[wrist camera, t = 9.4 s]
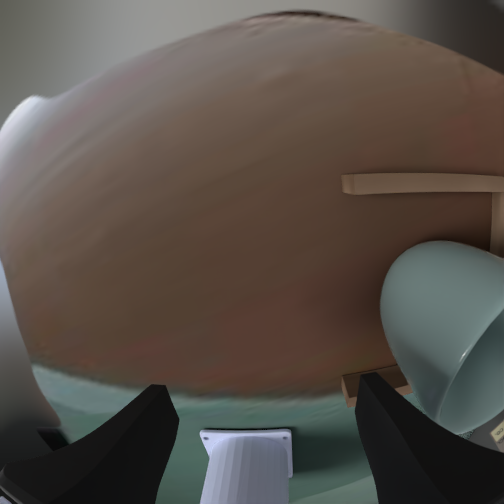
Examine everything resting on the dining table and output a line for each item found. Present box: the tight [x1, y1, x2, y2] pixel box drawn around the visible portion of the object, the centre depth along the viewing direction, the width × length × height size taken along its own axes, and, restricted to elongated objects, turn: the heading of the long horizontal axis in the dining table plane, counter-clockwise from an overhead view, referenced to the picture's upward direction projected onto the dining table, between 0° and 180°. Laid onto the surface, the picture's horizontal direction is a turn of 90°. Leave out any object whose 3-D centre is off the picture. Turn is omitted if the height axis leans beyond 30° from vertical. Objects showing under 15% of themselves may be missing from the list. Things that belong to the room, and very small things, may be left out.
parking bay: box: [341, 173, 504, 407], centre depth 15 cm, size 15×14×2 cm
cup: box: [380, 240, 504, 435], centre depth 11 cm, size 8×8×10 cm
